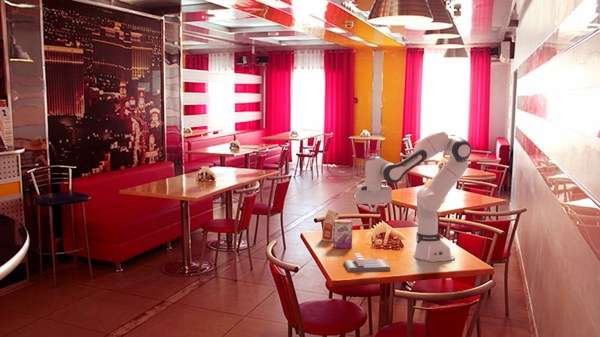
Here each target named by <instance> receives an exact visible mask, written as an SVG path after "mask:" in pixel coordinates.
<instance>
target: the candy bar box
mask: <svg viewBox="0 0 600 337" xmlns="http://www.w3.org/2000/svg"><path fill="white" fill-rule="evenodd" d="M352 246H353V220H348V219H346V220H345V219H338V220H334V241H333V248H334V249H352V248H353V247H352Z"/></svg>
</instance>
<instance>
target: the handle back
mask: <svg viewBox="0 0 600 337" xmlns="http://www.w3.org/2000/svg"><path fill="white" fill-rule="evenodd" d="M353 254H354V256H353V257H354V258H353V260H355V261H356V256H362V254H361V253H360V252H356V253H353Z"/></svg>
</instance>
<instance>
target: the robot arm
mask: <svg viewBox="0 0 600 337" xmlns="http://www.w3.org/2000/svg"><path fill="white" fill-rule="evenodd" d="M472 148H473V147H472V145H471V144H470V142H469V141H468V140H466V139H464V138H462V137H460V136H457V135H454V134H447V132H445V131H443V130H439V131H435V132H434V133H431V134H429V135H426V136H425V137H424V138H422V139H421V140H419V141H418V142H417V143H416V144H415V145H414V147H413V152H412V153H411V155H409V156H407V157H406V158H405V159H403V160H401V161H400V162H398V163H394V162H391V161H387V160H385V159H384V158H382V157H381V156H371V157H369V158H367V159H366V161H365V169H364V171H365V173H364V174H365V179H364V183H360V184H358V185H357V186H356V191H355V194H354V202H355V204H357V205H364V204H365V205H368V207H369V208H370V209H369V210H370V212H377V208H378V207H379V204H391V203H392V202H393V199H392V197H393V196H392V192H393V189H392V187H391V186H389V185H386V186H385V185H382V181H383V180H385V181H386V182H387V183H389V184H393V185H394V184H397V183H399V182H400V181H402V179H403V178H404V176H406V174H407V173H408V172H410V171H411V170H413V169H414V168H416V167H417V166H418V165H420V164H422V163H423V162H425V161H427V160H430V159H431V158H433V157H435V156H436V155H438V154H440V153H441V152H444V153H446V154H448V155H449V158H448V159H447V160H448V161H447V162H446V163H445V164H444V165H443V167H442V168H440V170H439V171H438V172H437V173H436V175H435V176H434V177H433V179H432V181H431V183H430V185H429V186H428V187H422V188H420V189H419V190H418V191H417V193H416V213H417V231H416V234H415V235H416V236H415V239H416V240H415V241H416V245H415V251H414V254H413V257H414V258H415V259H418V260H421V261H425V262H426V261H427V262H430V263H433V262H434V263H435V262H445V261H455V259H456V257H455V255H454V254H453V253H451V248H450V247H449V245H448V244H446V243H445V242H444V241H443V240H442V239H444V235H443V234H441V233H439V232H438V230H439V227H438V226H439V218H438V210H439V209H440V208H441V206H442V203H443V202H444V200H445V199H446V197H447V195H448V194H449V192H450V191H451V190H452V188H453V187H454V186H455V185H456V183H458V181H459V180H460V179H461V178H462V177H463V175H464V174H465V172H466V171H467V169H468V168H469V165H470V164H469V163H470V162H469V158H470V156H471V154H472ZM373 204H374V207H372V205H373Z"/></svg>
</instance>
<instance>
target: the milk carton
mask: <svg viewBox="0 0 600 337" xmlns="http://www.w3.org/2000/svg"><path fill="white" fill-rule="evenodd" d="M327 210H328V211H327V212H326V214H325V217H324V222H323V226H322V227H323V228H322V234H321V235H322V236H321V240H322V241H326V242H334V220H339V211H336V210H333V209H331V208H329V207H328V208H327Z"/></svg>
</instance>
